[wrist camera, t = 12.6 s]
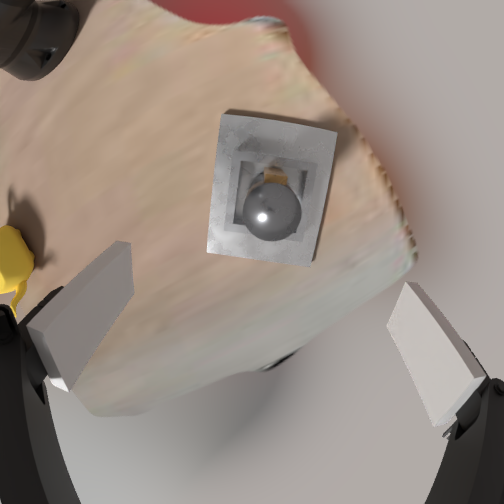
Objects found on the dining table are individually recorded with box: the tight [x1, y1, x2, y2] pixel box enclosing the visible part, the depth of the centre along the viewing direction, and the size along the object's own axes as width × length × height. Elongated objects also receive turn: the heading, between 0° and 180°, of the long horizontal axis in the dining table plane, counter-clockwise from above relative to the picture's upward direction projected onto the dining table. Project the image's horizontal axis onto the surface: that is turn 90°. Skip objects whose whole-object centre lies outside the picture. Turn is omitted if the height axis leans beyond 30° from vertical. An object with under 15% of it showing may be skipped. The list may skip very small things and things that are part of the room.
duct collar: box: [207, 114, 338, 267], centre depth 33 cm, size 18×14×4 cm
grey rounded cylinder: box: [242, 167, 302, 241], centre depth 29 cm, size 5×6×10 cm
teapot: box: [0, 225, 34, 317], centre depth 36 cm, size 18×11×11 cm, turn 31°
